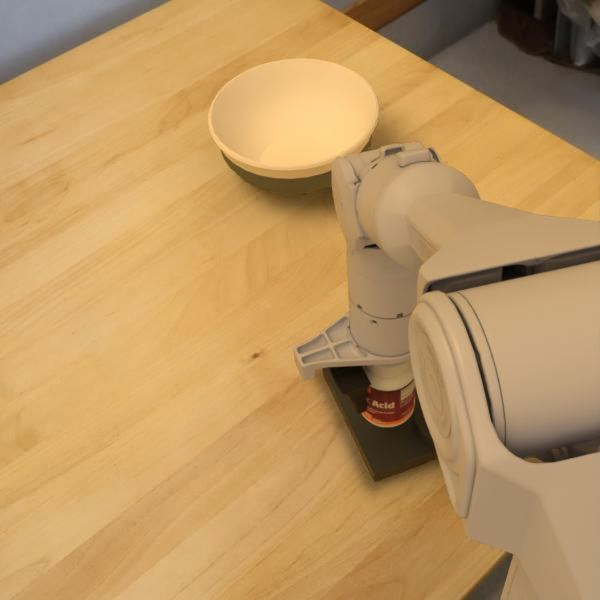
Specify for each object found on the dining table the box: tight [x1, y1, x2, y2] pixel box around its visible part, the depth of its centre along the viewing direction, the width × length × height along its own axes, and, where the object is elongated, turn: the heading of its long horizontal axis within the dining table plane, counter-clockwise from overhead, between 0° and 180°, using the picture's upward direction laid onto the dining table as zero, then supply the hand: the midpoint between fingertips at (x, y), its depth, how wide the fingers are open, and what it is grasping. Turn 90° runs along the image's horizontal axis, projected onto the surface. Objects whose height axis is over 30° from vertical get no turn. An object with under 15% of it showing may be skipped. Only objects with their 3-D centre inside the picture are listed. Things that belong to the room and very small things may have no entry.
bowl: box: [207, 57, 381, 195], centre depth 95 cm, size 19×19×8 cm
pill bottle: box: [362, 359, 416, 427], centre depth 69 cm, size 5×5×8 cm
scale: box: [322, 367, 438, 482], centre depth 76 cm, size 13×11×3 cm
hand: (387, 392), depth 71 cm, fingers closed on pill bottle, 5 cm apart
